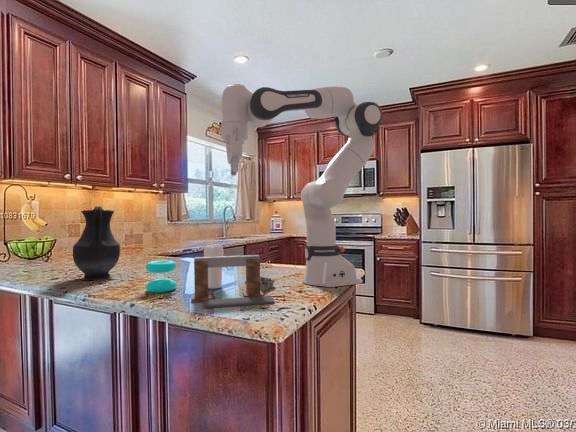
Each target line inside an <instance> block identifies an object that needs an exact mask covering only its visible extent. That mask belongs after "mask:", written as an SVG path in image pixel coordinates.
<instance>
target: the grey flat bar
mask: <svg viewBox="0 0 576 432" xmlns="http://www.w3.org/2000/svg"><path fill="white" fill-rule="evenodd" d="M275 302H276V301H275V300H274V298H273V297H272V296H271V295H264V296H259V297H244V296H243V297H233V298H232V297H231V298H220V299H219V298H217V299H212V300H205V302H204V310H205V309H214V308H215V309H219V308H229V307H233V308H234V307H244V306H245V307H246V306H258V305H272V304H276V303H275Z"/></svg>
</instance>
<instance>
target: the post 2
mask: <svg viewBox="0 0 576 432" xmlns="http://www.w3.org/2000/svg"><path fill="white" fill-rule="evenodd" d="M260 276H261V258H248V259H247V266H245V281H246V284H245V290H244V291H242V296H243V298H244V297H259V296H265V293H264V292H262V291H261V290H260Z"/></svg>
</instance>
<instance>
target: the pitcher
mask: <svg viewBox="0 0 576 432" xmlns="http://www.w3.org/2000/svg"><path fill="white" fill-rule="evenodd" d="M81 214H82V215H83V216H84V219H85V225H84V228H83V230H82V234H81V236H80V237H79V238H78V240H77V242H76V243H75V244H74V245H72V259H73V261H74V264H75V266H76V268H77V269H78V270H80V271H81V272H82V273H83V274H84V277H83V279H84V280H87V281H90V280H92V281H95V280H103V279H108V278H110V277H111V275H110V273H109V272H110V271H111V270H112V269H113V268H114V267H116V265H117V263H118V261H119V259H120V256H121V245H120V243H119V242H118V241H117V240H116V239H115V237H114V236H113V235H114V234H113V233H112V230H111V220H112V216H113V215H114V214H115V210H111V209H105V210H104V209H103V207H102V206H97V205H95V206H94V208H93V209H87V210H85V209H84V210H81Z"/></svg>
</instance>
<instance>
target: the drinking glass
mask: <svg viewBox="0 0 576 432" xmlns="http://www.w3.org/2000/svg"><path fill="white" fill-rule="evenodd" d="M215 256H224V245H221V244H211V245H210V244H209V245H204V246H203V257H215ZM223 269H224V267H213V268H208V290H209V289H210V290H216V289H217V290H218V289H220V288H221V287H222V286H223V285H222V284H223V283H222V282H223V279H222V278H223Z"/></svg>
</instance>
